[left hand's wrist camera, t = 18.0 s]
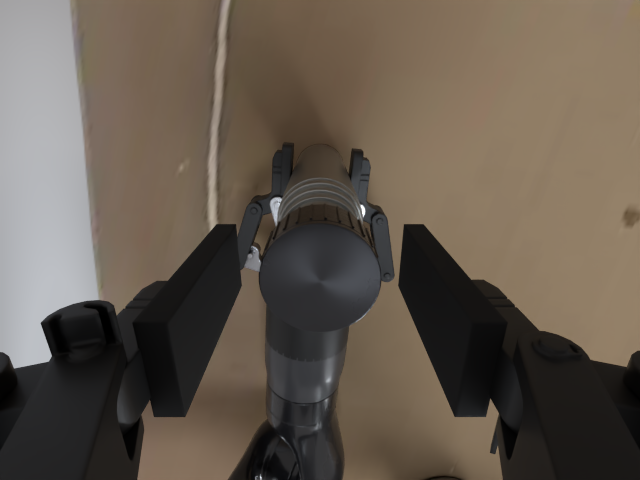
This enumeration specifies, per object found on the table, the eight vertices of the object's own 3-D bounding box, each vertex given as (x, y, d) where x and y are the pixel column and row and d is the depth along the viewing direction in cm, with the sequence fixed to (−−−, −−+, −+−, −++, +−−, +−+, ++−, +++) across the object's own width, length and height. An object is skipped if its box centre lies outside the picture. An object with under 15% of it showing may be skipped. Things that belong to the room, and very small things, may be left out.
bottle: (329, 134, 32) (346, 189, 11) (352, 177, 33) (403, 295, 13) (287, 159, 33) (232, 252, 12) (311, 200, 34) (298, 344, 14)
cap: (257, 286, 15) (246, 319, 13) (279, 189, 13) (271, 206, 11) (355, 309, 15) (361, 344, 13) (387, 217, 14) (400, 240, 11)
